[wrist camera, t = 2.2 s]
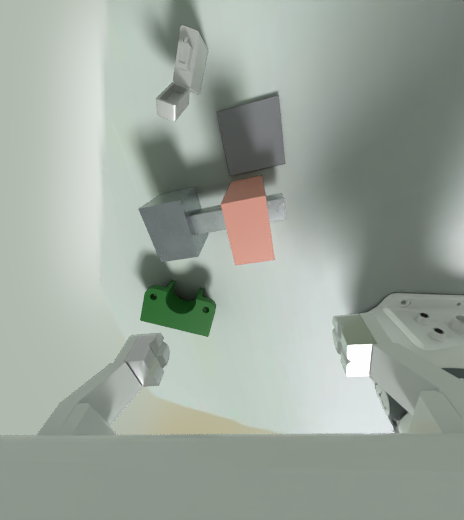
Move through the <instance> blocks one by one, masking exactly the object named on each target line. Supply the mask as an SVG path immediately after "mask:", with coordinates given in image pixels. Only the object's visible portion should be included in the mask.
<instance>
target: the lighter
mask: <svg viewBox="0 0 464 520" xmlns="http://www.w3.org/2000/svg"><path fill="white" fill-rule="evenodd" d="M207 54H208V49H207V47H206V45H205V43H204V41H203V39H202V37H201V35H200V34H199V32H198V31H197V30H194V29H192V28H189V27H187V26H184V25H182V26H181V27H180V33H179V40H178V47H177V55H176V62H175V69H174V77H173V81H174V83H171V84H170V85H169V86H168V87H167V88H166V89H165V90H164V91H163V92H162V93H161V94H160V95H159V96H158V97H157V98H156V103H157V115H158V116H160V117H163V118H165V119H168V120H171V121H176V120H177V119H178V117H179V116H180V115H181V114H182V112H183V111H184V110H185V108H186V107H187V106H188V105H189V93H190V92H192V93H195V94H197V95H199V94H200V91H201V86H202V81H203V75H204V70H205V65H206V60H207Z"/></svg>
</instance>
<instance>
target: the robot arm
mask: <svg viewBox="0 0 464 520" xmlns="http://www.w3.org/2000/svg"><path fill="white" fill-rule="evenodd" d="M333 325H334V327H335V328H334V329H333V339H334V344H335V347H336V350H337V352H338V353H339V354H340V355H341V363H342V366H343V368H344V371H345V373H346V376H369V377H370V378H371V380H372V381H373V383H374V385H375V389H376V393H377V396H378V398H379V400H380V403H381V405H382V407H383V409H384V411H385V413H386V415H387V416H388V418H389V420H390V421H391V423H392V425H393V427H394V429H395V431H396V432H397V433H345V434H176V435H175V434H170V435H116V433H115V431H114V430H113V429H112V428H111V427H110V425H111V424H112V422H113V421H114V420H115V419H116V418H117V417H118V416H119V414H120V413H121V412H122V411H123V410H124V409H125V408H126V406H127V405H128V404H129V403H130V402H131V401H132V400H133V398H134V397H135V396H136V395H137V394H138V393H139V391H140V390H141V389H142V388H143V387H146V386H159V384H160V381H161V379H162V376H163V374H164V371H163V367H164V366H165V365H166V364H167V363H168V360H169V354H170V351H169V347H168V345H167V344H166V343H165V342H163V339H164V337H163V335H162V334H161V333H150V334H138V335H131V336H130V337H129V338H128V340H127V341H126V343H125V345H124V346H123V348H122V350H121V351H120V353H119V354H118V356H117V358H116V359H115V361H114V363H110V364H109V365H108V366H106V367H105V368H104V369H102V370H101V371H100V372H99V373H97V374H96V375H95V376H93V377H92V378H91V379H90V380H89V381H87V382H86V383H85V384H83V385H82V386H81V387H79V388H78V389H77V390H76V391H74V392H73V393H72V394H71V395H69V396H68V397H67V398H66V399H64V400H63V401H62V402H60V403H59V405H58V407H57V408H56V409H55V410H54V412H53V413H52V415H51V416H50V417H49V419H48V420H47V421H46V423H45V424H44V425H43V427H42V428H41V430H40V431H39V433H38V434H37V435H3V436H2V435H0V520H464V295H436V294H408V293H393V294H390V295H389V296H387V297H386V298H385V299H384V300H383V301H382V302H381V303H380V304H379V305H378V306H377V307H375V308H374V309H372V310H370V311H368V312H366V313H358V314H349V315H339V316H333Z"/></svg>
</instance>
